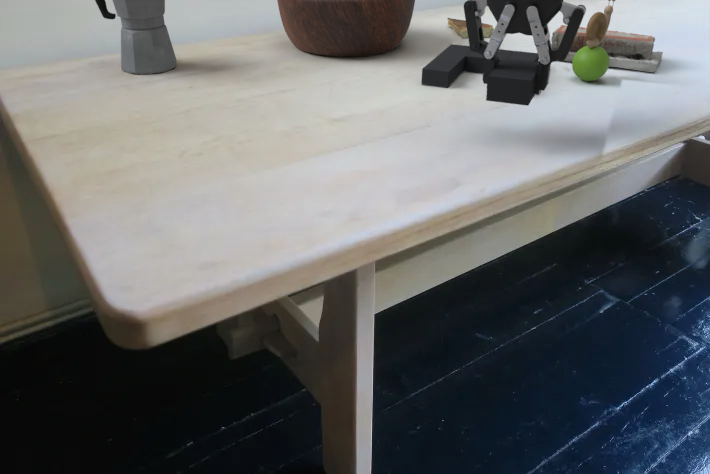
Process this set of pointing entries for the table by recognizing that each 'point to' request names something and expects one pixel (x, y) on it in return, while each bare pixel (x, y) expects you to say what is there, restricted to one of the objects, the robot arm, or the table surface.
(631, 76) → the table surface
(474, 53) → the base pad
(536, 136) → the table surface
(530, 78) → the pad piece
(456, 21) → the pie slice
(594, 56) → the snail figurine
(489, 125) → the table surface
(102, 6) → the coffeepot
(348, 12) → the wooden bowl
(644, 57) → the weathered brick
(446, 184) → the table surface
